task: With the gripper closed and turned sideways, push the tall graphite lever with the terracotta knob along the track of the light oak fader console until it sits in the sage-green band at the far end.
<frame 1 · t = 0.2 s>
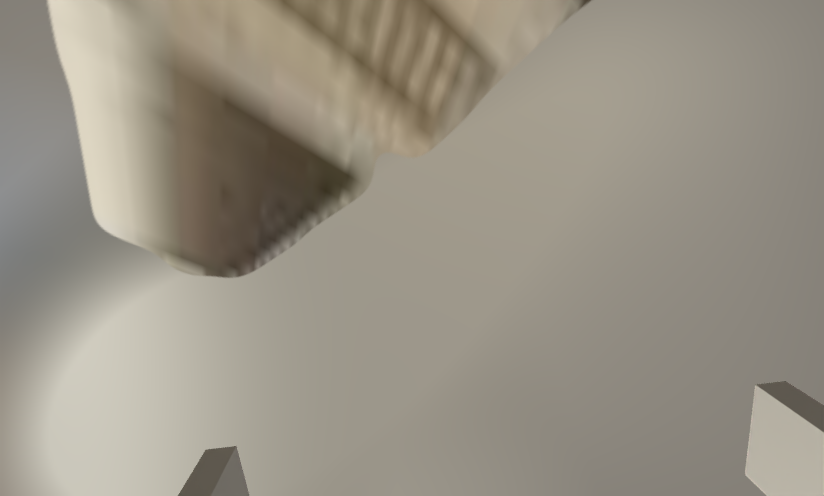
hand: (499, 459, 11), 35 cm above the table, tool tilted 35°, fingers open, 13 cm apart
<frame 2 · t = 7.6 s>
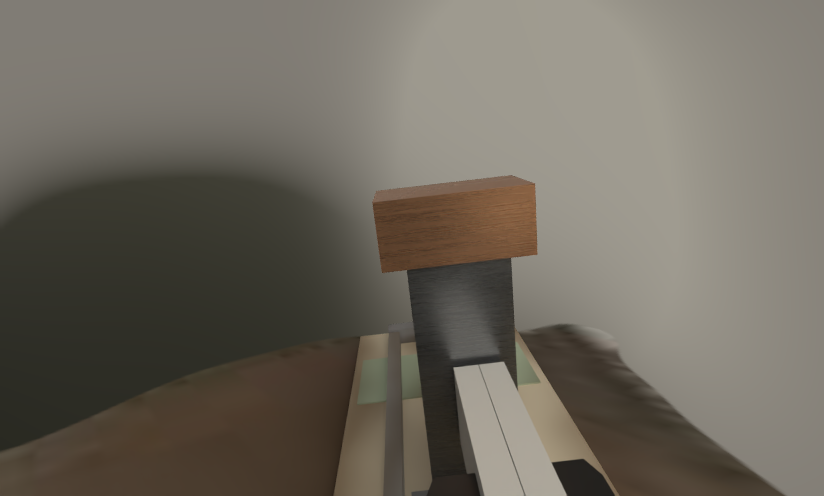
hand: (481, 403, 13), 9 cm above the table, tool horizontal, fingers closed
fader console: (459, 459, 23), on the table
fader lever: (465, 382, 14), point 9 cm above the table, slide at 0.5 cm, touching gripper
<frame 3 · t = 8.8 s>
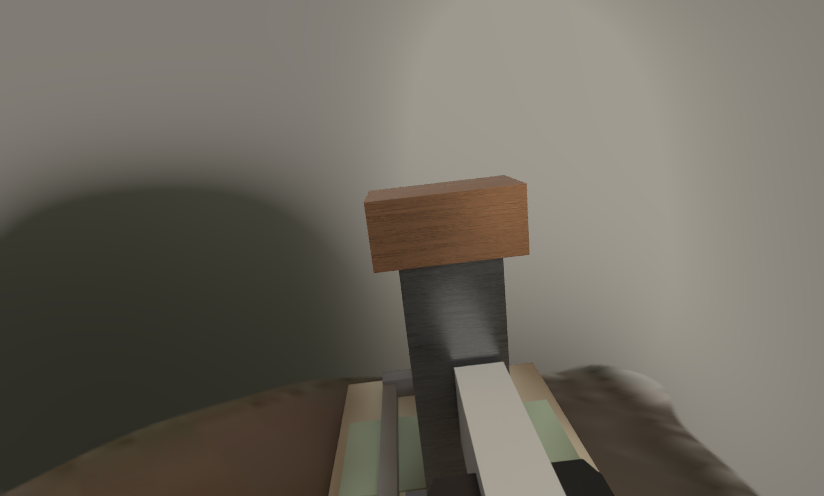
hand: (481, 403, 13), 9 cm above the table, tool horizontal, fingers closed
fader lever: (458, 383, 14), point 9 cm above the table, slide at 7.3 cm, touching gripper
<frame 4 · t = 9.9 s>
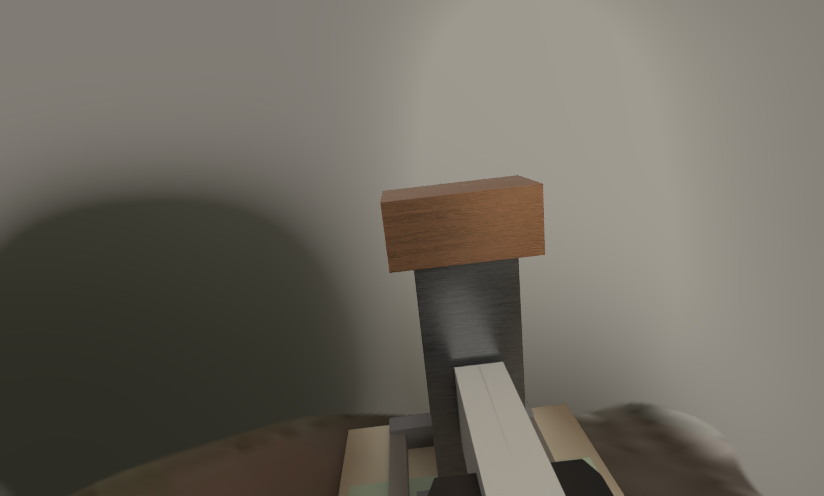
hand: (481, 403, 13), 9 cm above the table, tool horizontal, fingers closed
fader lever: (471, 382, 14), point 9 cm above the table, slide at 11.7 cm, touching gripper
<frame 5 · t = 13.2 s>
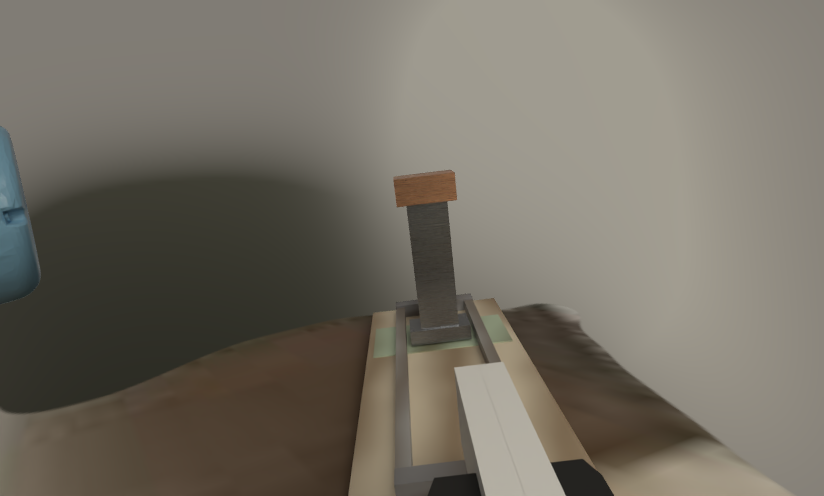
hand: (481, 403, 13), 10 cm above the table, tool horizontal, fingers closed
fader console: (450, 394, 31), on the table
fader lever: (432, 259, 33), point 9 cm above the table, slide at 11.8 cm
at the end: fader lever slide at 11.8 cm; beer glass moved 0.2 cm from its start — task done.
